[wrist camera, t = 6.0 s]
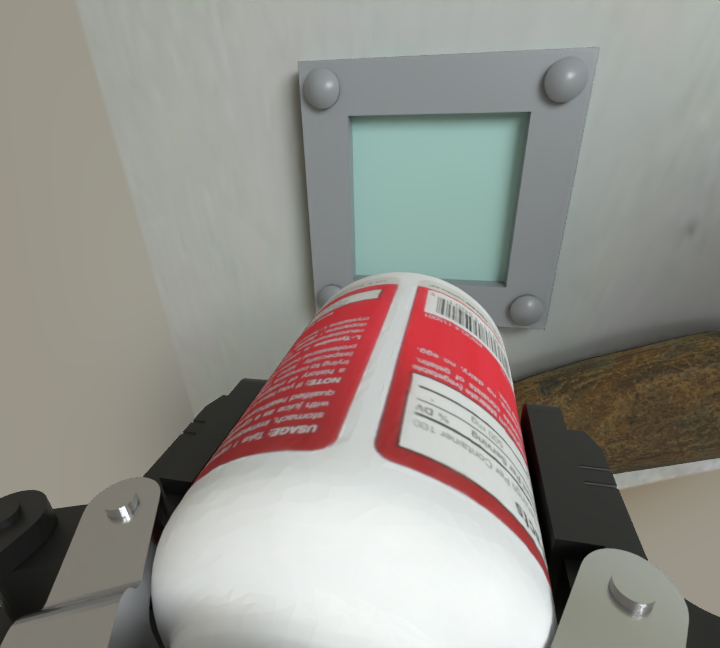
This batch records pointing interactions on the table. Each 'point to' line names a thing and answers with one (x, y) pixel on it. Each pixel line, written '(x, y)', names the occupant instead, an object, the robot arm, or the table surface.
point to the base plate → (445, 170)
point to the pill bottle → (367, 492)
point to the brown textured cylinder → (640, 401)
